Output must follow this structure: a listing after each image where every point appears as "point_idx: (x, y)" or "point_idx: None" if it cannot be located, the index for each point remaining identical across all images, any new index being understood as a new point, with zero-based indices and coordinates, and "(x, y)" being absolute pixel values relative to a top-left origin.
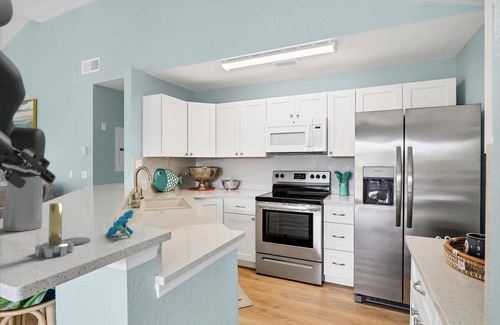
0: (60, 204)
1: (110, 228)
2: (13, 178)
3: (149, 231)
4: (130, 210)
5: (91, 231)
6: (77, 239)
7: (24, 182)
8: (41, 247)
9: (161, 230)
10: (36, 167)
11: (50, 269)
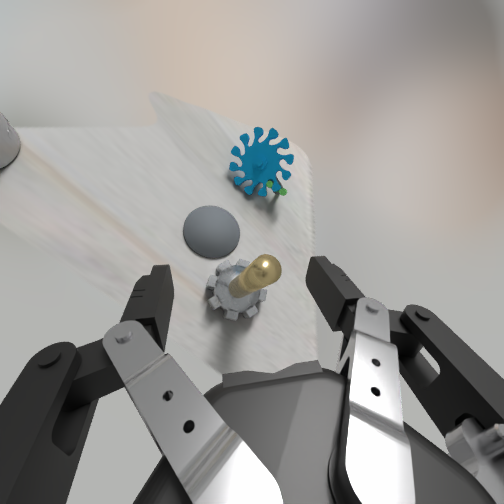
0: (280, 268)
1: (235, 168)
2: (164, 324)
3: (281, 154)
4: (277, 133)
5: (182, 160)
6: (210, 219)
7: (169, 272)
8: (232, 309)
9: (294, 148)
10: (407, 375)
11: (297, 354)
